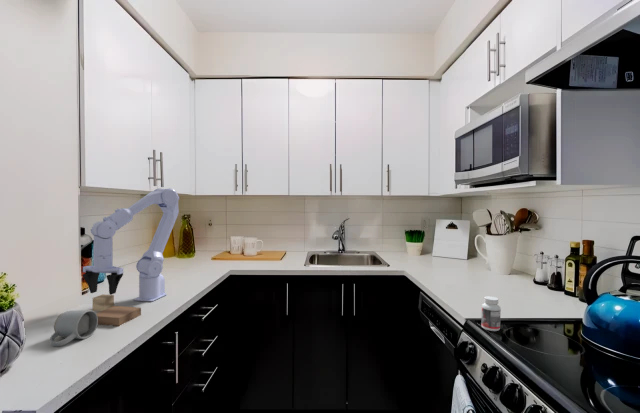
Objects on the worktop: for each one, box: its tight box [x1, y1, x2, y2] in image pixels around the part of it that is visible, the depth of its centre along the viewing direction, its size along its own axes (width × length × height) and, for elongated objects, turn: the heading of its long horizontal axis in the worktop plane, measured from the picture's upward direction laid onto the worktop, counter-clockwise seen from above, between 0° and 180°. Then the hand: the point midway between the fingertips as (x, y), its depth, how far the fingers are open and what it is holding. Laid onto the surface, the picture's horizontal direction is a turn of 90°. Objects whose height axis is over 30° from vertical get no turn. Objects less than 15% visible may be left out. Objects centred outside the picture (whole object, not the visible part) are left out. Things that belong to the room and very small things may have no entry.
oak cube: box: [92, 294, 115, 312], centre depth 119 cm, size 4×4×4 cm
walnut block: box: [95, 305, 142, 327], centre depth 110 cm, size 10×10×3 cm
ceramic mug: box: [49, 309, 98, 347], centre depth 94 cm, size 11×8×8 cm
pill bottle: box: [480, 295, 502, 332], centre depth 107 cm, size 5×5×10 cm
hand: (103, 293), depth 119 cm, fingers open, 7 cm apart
